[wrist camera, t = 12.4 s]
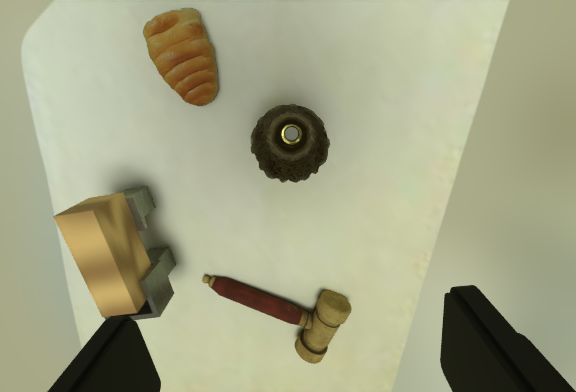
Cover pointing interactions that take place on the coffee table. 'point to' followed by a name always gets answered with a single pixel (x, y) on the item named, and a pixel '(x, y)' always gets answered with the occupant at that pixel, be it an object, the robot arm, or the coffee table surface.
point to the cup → (290, 143)
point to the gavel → (292, 314)
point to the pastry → (183, 54)
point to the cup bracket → (155, 284)
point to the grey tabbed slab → (139, 205)
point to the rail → (107, 252)
